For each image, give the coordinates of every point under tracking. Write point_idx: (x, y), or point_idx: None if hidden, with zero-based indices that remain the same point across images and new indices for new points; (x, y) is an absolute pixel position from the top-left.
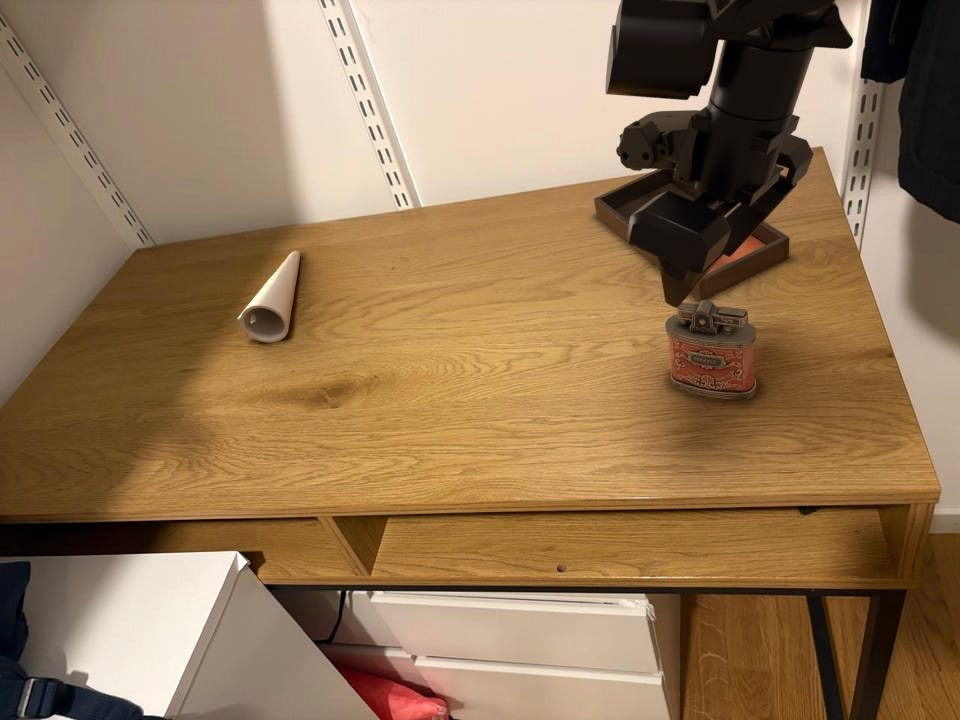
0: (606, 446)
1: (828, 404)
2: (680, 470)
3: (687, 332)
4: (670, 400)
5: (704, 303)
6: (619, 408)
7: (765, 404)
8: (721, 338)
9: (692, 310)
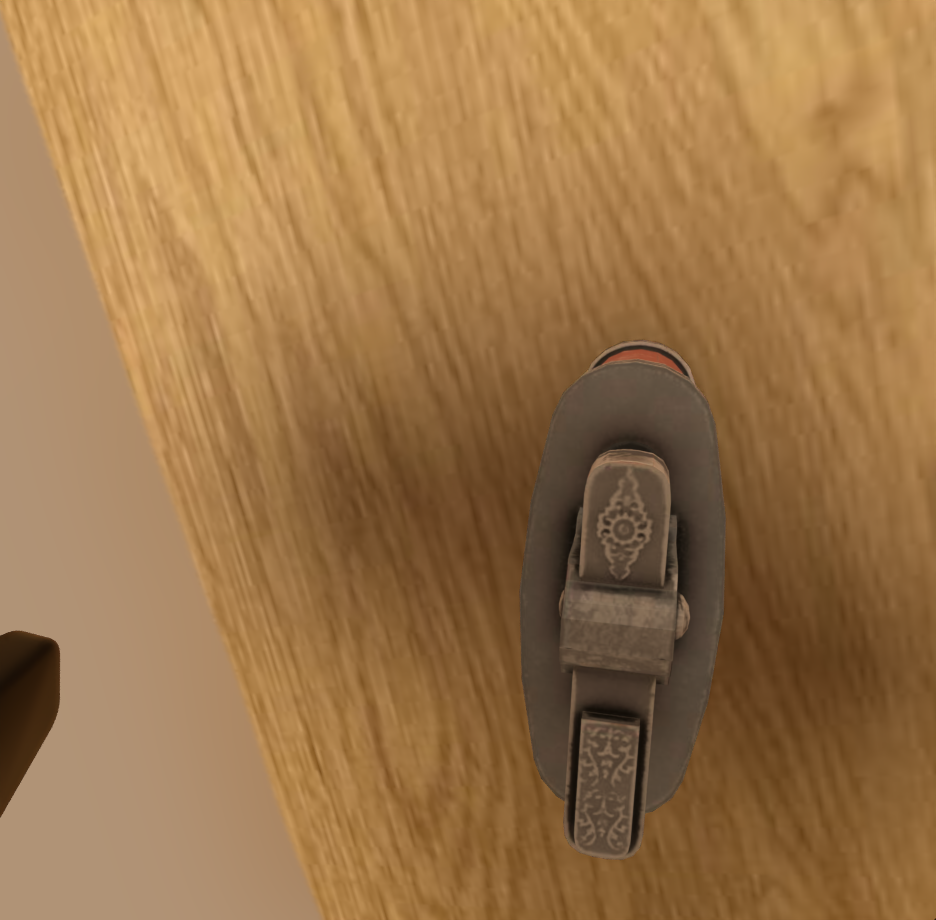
0: (258, 199)
1: (605, 862)
2: (237, 470)
3: (564, 498)
4: (520, 365)
5: (640, 637)
6: (439, 182)
7: None
8: (545, 669)
9: (596, 562)
